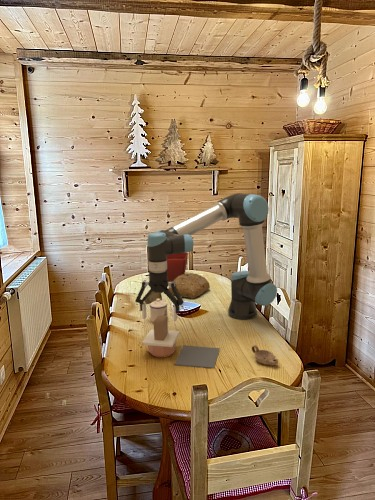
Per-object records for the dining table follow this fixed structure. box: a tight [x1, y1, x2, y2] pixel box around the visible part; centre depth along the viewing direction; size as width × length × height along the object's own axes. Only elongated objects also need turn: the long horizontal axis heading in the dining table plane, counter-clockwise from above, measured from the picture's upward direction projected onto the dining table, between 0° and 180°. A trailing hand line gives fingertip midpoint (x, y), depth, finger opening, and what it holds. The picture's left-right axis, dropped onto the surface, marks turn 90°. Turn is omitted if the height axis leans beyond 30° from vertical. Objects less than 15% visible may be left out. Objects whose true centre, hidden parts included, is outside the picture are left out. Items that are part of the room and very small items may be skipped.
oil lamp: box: [251, 344, 279, 366], centre depth 149 cm, size 13×8×5 cm, turn 33°
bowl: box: [147, 341, 177, 358], centre depth 159 cm, size 11×11×6 cm
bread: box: [168, 272, 211, 299], centre depth 232 cm, size 24×21×12 cm
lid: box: [141, 315, 181, 347], centre depth 157 cm, size 13×13×9 cm
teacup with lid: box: [149, 299, 168, 323], centre depth 192 cm, size 12×9×12 cm
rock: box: [144, 291, 163, 305], centre depth 218 cm, size 11×9×10 cm
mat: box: [174, 344, 220, 369], centre depth 154 cm, size 16×16×1 cm
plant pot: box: [167, 252, 189, 282], centre depth 259 cm, size 19×19×17 cm
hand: (159, 319), depth 156 cm, fingers open, 13 cm apart
